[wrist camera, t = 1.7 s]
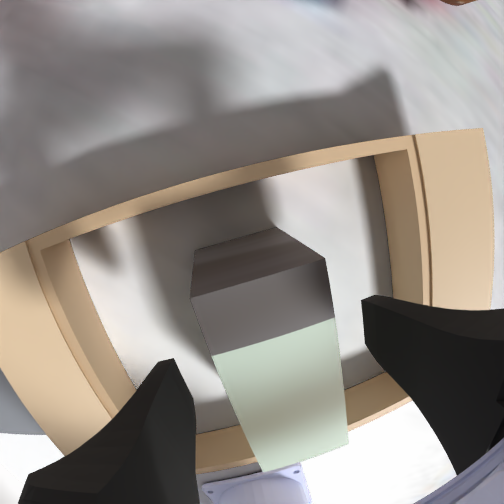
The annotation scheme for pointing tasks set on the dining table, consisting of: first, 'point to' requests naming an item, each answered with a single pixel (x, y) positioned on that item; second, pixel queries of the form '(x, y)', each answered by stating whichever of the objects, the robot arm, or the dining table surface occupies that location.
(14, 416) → the mat
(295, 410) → the box
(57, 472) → the robot arm
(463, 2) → the food container
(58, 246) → the carton
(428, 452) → the dining table surface
